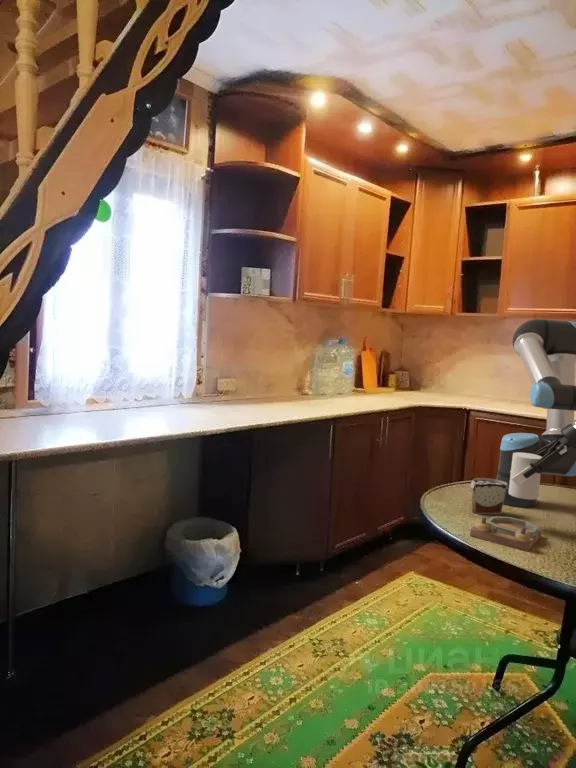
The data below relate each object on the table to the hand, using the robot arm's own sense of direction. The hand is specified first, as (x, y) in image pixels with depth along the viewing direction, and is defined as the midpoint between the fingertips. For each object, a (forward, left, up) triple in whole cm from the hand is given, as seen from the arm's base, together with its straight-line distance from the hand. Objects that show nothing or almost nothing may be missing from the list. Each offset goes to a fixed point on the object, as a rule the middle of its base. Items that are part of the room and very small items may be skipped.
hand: (513, 478), depth 173 cm
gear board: (+13, +3, -14) cm, 19 cm away
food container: (-7, -10, -14) cm, 18 cm away
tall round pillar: (-1, +3, -5) cm, 6 cm away
